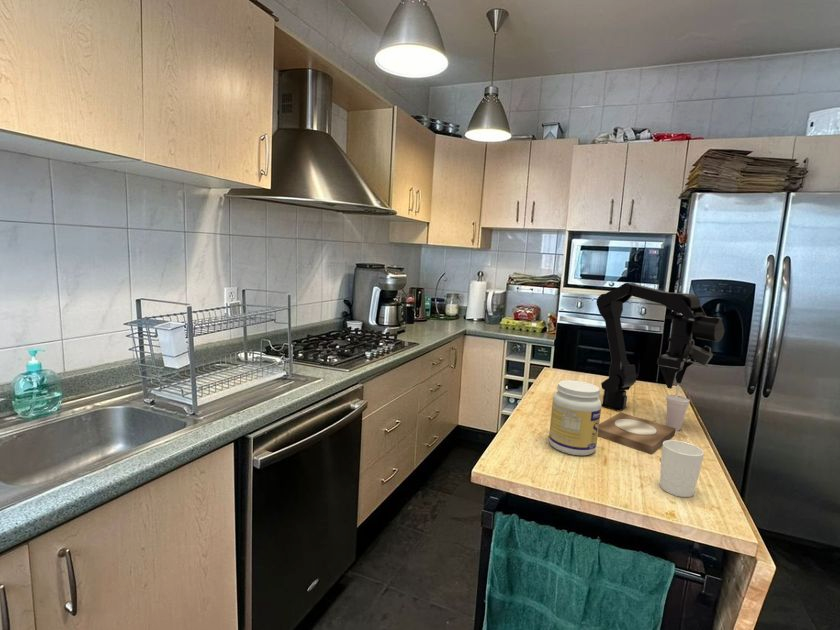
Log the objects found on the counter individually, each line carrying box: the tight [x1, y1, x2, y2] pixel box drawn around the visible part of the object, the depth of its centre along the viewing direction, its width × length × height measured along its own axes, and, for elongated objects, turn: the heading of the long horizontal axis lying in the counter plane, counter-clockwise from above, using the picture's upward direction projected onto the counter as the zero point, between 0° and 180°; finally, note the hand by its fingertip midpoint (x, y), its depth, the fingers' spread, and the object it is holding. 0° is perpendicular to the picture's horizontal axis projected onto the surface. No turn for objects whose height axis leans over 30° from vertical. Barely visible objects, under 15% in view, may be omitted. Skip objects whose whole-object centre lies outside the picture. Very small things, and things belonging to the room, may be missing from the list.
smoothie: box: [665, 383, 690, 432], centre depth 138 cm, size 6×6×14 cm
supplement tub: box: [548, 379, 602, 456], centre depth 119 cm, size 12×12×17 cm
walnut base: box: [598, 411, 676, 455], centre depth 131 cm, size 16×20×3 cm
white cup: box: [659, 439, 705, 498], centre depth 101 cm, size 8×8×10 cm
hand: (674, 385), depth 138 cm, fingers open, 9 cm apart
